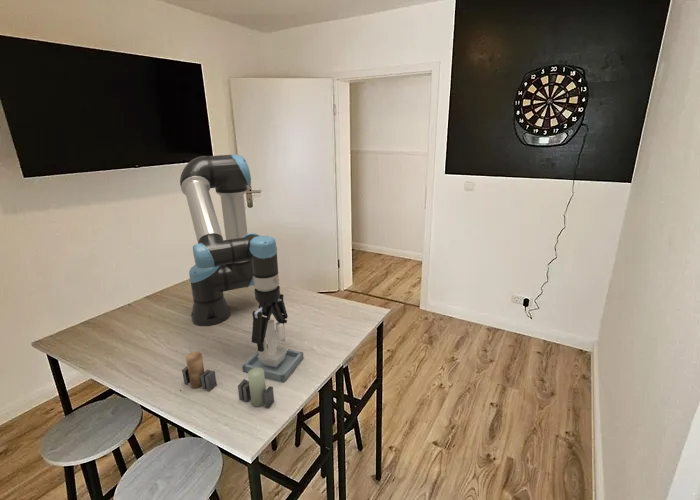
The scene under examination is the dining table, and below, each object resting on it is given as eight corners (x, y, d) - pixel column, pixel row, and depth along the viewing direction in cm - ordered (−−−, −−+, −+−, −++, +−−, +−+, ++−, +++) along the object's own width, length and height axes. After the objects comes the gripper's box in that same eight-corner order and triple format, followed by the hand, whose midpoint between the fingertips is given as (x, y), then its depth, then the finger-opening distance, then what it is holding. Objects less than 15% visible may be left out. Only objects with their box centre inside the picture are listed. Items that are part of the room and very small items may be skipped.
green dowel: (248, 404, 104) (244, 375, 100) (257, 394, 108) (253, 366, 104) (261, 408, 102) (258, 379, 99) (269, 398, 106) (267, 369, 103)
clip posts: (184, 383, 112) (181, 370, 111) (191, 377, 115) (189, 364, 113) (268, 408, 102) (267, 394, 101) (274, 401, 105) (272, 387, 103)
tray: (243, 371, 118) (242, 365, 117) (265, 349, 129) (265, 343, 128) (283, 382, 112) (283, 375, 112) (303, 358, 124) (303, 352, 123)
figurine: (268, 355, 125) (263, 314, 122) (292, 359, 122) (288, 317, 118) (255, 366, 119) (250, 323, 115) (280, 371, 115) (275, 327, 112)
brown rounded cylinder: (187, 386, 111) (182, 358, 108) (198, 377, 115) (193, 350, 112) (199, 390, 110) (194, 362, 106) (209, 380, 114) (204, 353, 110)
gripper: (255, 304, 100) (263, 372, 108) (295, 274, 120) (299, 333, 127) (233, 300, 103) (241, 367, 110) (275, 271, 123) (280, 329, 130)
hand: (272, 349), depth 119 cm, fingers open, 10 cm apart
